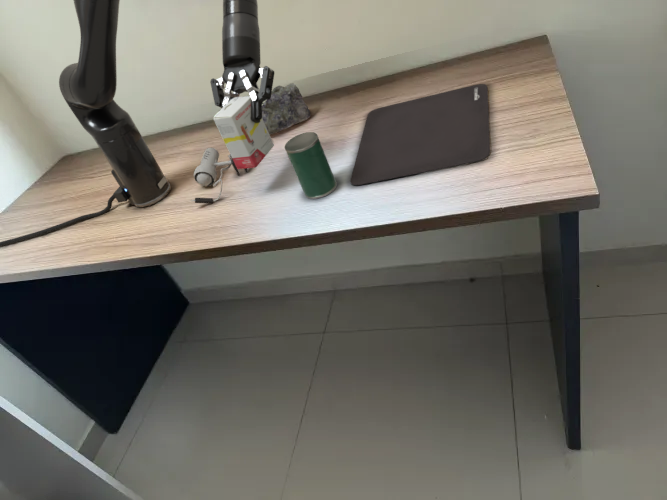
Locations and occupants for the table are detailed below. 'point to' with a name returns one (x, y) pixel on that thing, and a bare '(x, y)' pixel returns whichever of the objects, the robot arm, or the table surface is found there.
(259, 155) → the ink box
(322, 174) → the tin can
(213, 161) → the clip-on lamp
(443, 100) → the mouse pad
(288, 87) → the mineral rock
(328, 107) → the table surface
